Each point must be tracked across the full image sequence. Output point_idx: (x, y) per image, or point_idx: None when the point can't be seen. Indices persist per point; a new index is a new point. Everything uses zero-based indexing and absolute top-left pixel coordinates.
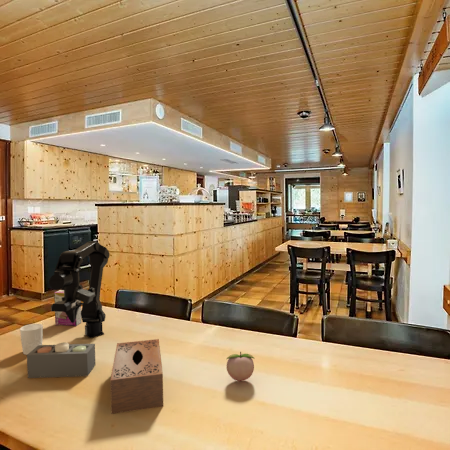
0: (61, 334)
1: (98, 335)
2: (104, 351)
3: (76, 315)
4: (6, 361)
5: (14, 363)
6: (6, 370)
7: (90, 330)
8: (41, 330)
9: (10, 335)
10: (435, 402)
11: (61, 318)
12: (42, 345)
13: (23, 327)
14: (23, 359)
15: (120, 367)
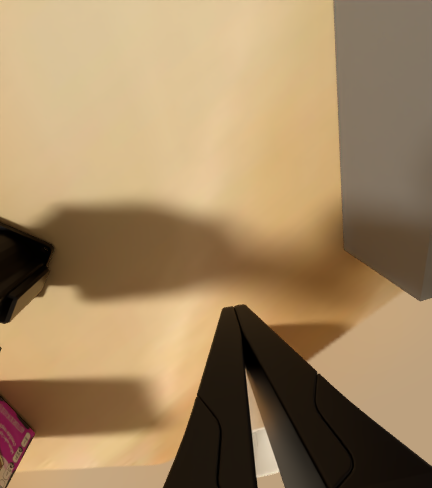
0: (88, 368)
1: (4, 224)
2: (159, 40)
3: (212, 361)
4: (310, 355)
5: (321, 330)
6: (363, 316)
7: (15, 272)
8: (251, 407)
9: (162, 455)
10: None
11: (2, 454)
12: (429, 281)
13: (262, 468)
14: (295, 328)
15: None
